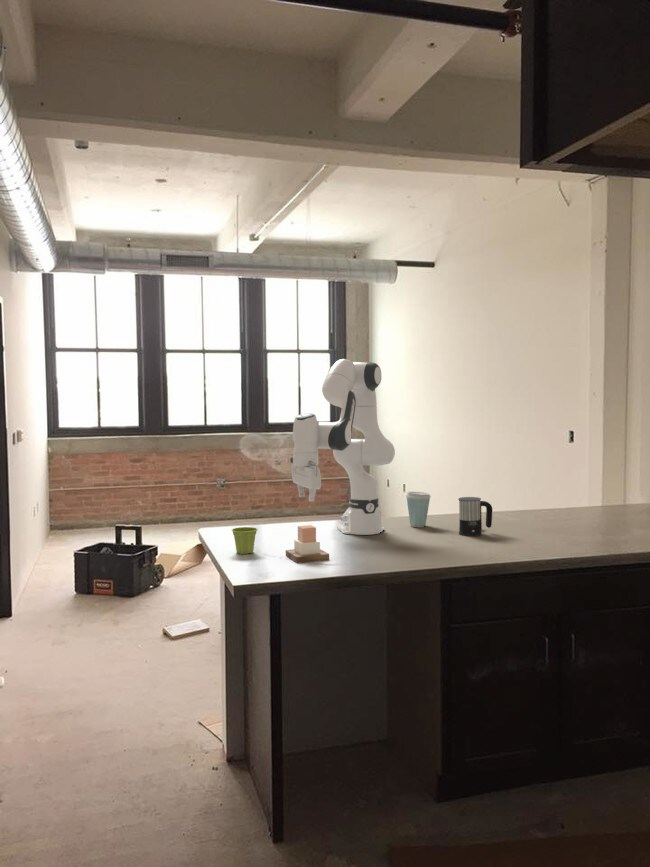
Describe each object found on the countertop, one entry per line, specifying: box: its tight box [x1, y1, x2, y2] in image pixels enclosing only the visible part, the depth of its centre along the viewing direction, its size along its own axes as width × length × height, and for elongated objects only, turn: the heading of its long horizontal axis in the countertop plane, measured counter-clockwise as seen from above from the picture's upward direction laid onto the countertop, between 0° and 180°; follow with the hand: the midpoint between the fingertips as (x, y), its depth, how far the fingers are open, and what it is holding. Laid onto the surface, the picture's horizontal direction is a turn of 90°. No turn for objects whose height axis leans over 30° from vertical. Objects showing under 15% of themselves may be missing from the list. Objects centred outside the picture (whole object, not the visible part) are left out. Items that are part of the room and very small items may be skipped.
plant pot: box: [231, 526, 259, 555], centre depth 257 cm, size 9×9×9 cm
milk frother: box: [458, 496, 493, 537], centre depth 291 cm, size 14×16×15 cm
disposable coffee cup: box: [405, 491, 431, 528], centre depth 305 cm, size 11×11×15 cm
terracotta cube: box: [297, 524, 317, 543], centre depth 248 cm, size 5×5×5 cm
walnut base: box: [285, 548, 330, 564], centre depth 248 cm, size 12×12×2 cm
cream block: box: [293, 539, 321, 555], centre depth 248 cm, size 7×7×4 cm
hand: (306, 499), depth 247 cm, fingers open, 8 cm apart
